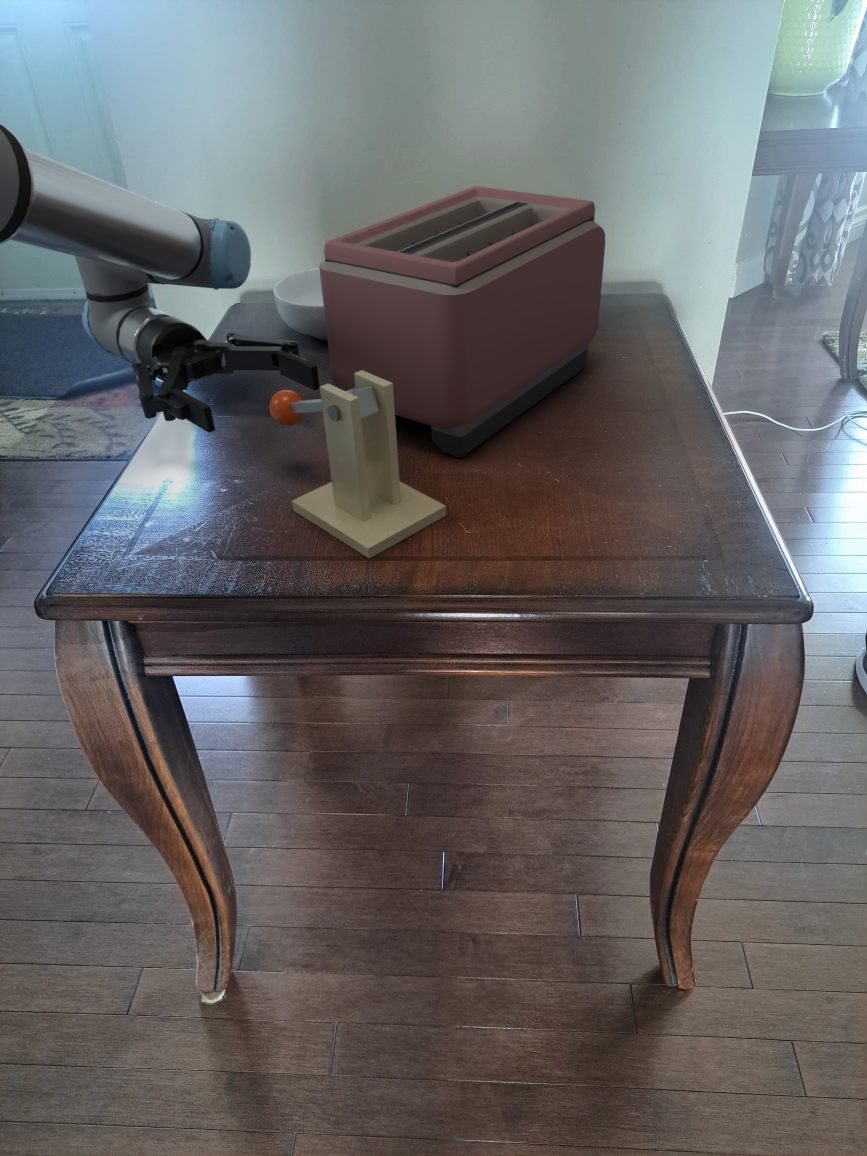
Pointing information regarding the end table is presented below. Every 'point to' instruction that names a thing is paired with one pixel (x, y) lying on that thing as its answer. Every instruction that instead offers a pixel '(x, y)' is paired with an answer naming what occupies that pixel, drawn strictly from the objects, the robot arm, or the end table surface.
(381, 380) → the bracket
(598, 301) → the toaster
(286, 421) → the lever
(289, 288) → the cereal bowl
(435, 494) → the end table surface
